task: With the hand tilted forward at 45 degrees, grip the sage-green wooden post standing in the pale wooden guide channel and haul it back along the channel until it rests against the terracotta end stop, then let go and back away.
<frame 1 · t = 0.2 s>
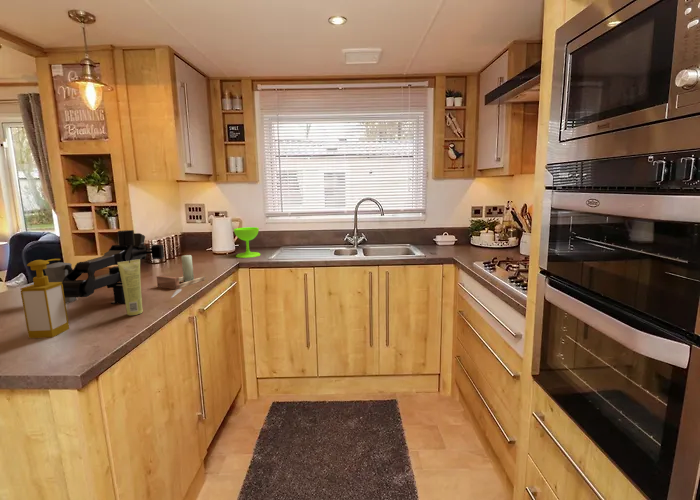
hand: (151, 250, 172), 17 cm above the countertop, tool horizontal, fingers open, 9 cm apart
tube: (135, 314, 135), on the countertop
soap bottle: (56, 330, 121), on the countertop
wineglass: (248, 255, 248), on the countertop
keeper post: (188, 281, 181), on the countertop
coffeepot: (64, 302, 152), on the countertop
guide channel: (182, 283, 178), on the countertop
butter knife: (172, 299, 154), on the countertop
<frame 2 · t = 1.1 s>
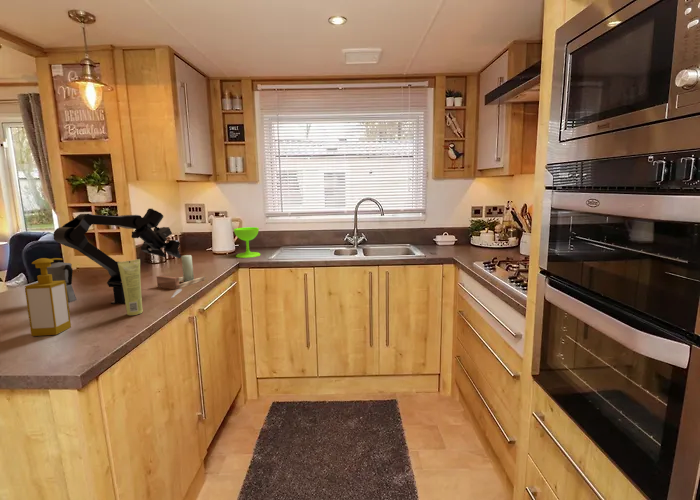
hand: (172, 256, 172), 14 cm above the countertop, tool tilted 45°, fingers open, 9 cm apart
soap bottle: (57, 329, 122), on the countertop
everything else where it was.
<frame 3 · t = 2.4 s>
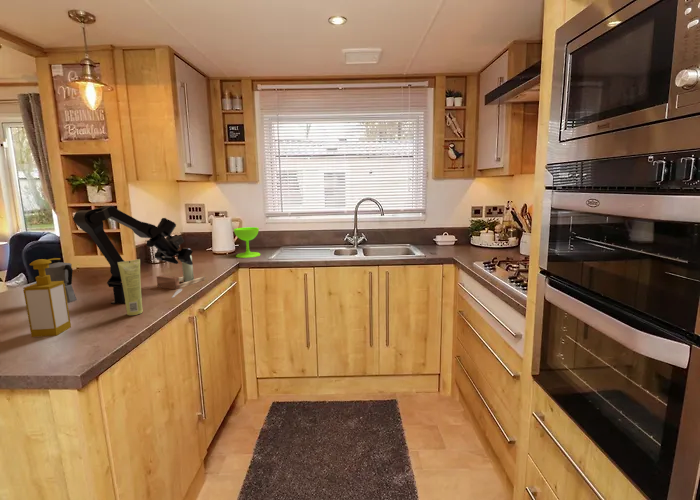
hand: (184, 263, 178), 9 cm above the countertop, tool tilted 45°, fingers open, 9 cm apart
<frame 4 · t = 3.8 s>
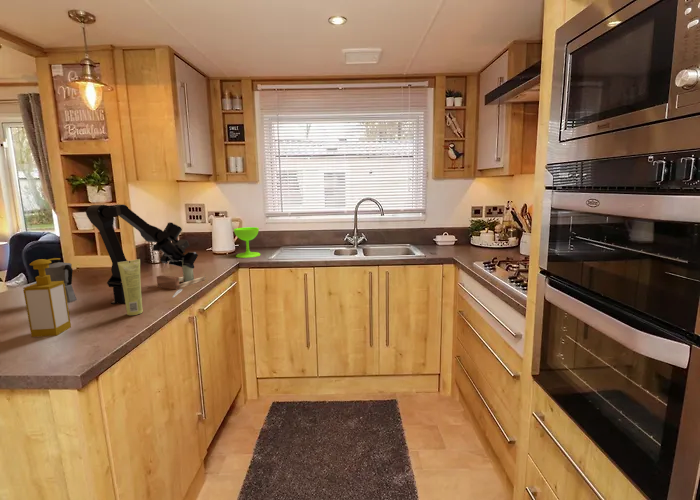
hand: (189, 267, 181), 7 cm above the countertop, tool tilted 45°, fingers closed on keeper post, 5 cm apart
keeper post: (188, 281, 181), on the countertop, touching gripper
everything else where it was.
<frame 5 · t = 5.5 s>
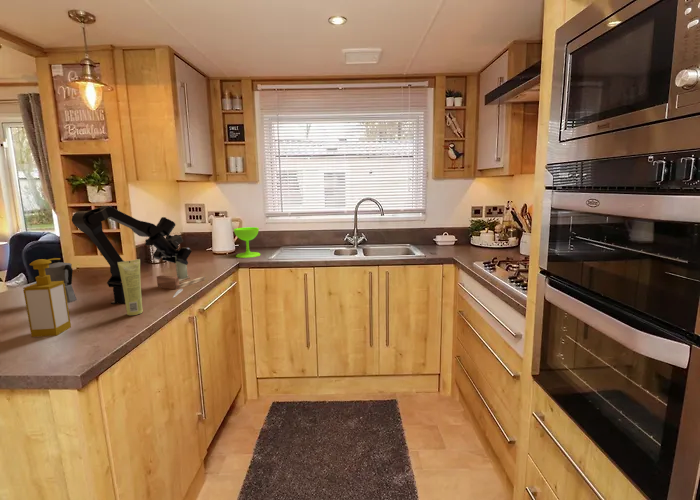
hand: (183, 263, 178), 9 cm above the countertop, tool tilted 45°, fingers closed on keeper post, 5 cm apart
keeper post: (182, 277, 177), point 3 cm above the countertop, touching gripper
everything else where it was.
when the fingers open (8 cm above the countertop, at t = 7.4 s): keeper post drops 1 cm, on the countertop.
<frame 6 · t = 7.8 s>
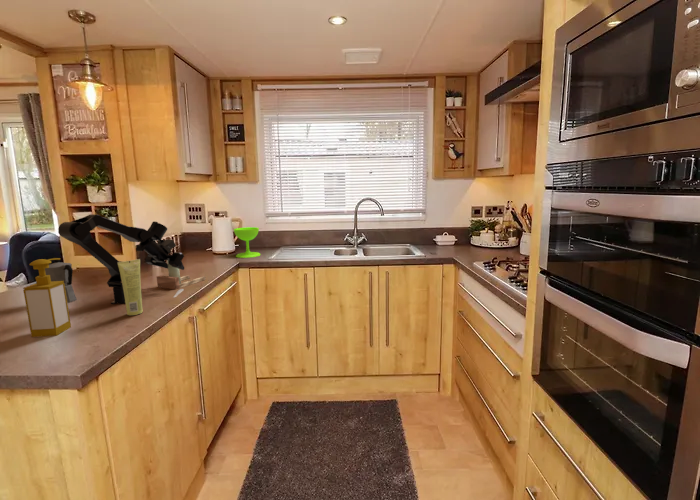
hand: (176, 268, 174), 8 cm above the countertop, tool tilted 45°, fingers open, 9 cm apart
keeper post: (175, 285, 174), on the countertop
everything else where it was.
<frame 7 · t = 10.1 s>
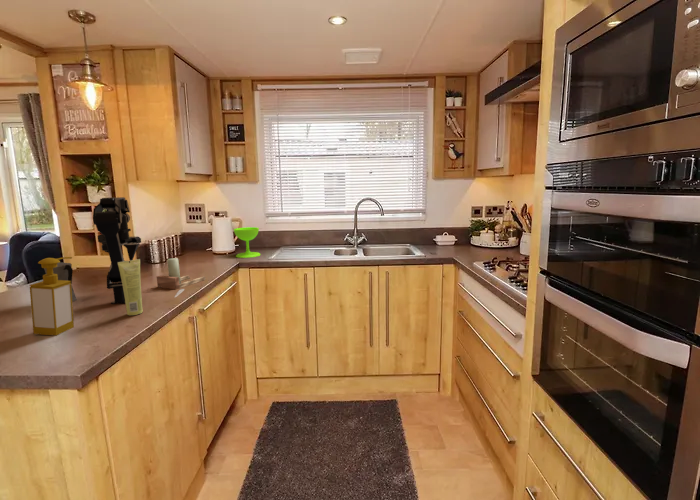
hand: (124, 262, 162), 13 cm above the countertop, tool pointing down, fingers open, 9 cm apart
soap bottle: (61, 327, 122), on the countertop
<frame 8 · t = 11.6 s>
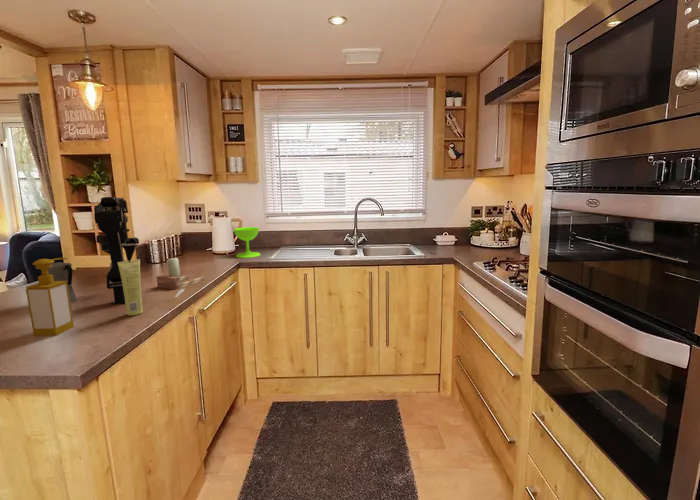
hand: (123, 263, 162), 13 cm above the countertop, tool pointing down, fingers open, 9 cm apart
at the end: keeper post inside the target area (0.1 cm from its centre), on the countertop; keeper post tilted 0°; the gripper is holding nothing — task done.
